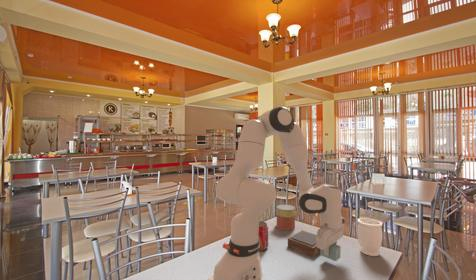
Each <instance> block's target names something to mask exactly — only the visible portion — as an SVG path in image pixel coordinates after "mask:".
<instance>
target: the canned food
mask: <svg viewBox="0 0 476 280" xmlns="http://www.w3.org/2000/svg"><path fill="white" fill-rule="evenodd" d="M276 228H278V229H280V230H283V231H292V230H295V228H296V207H295V206H293V205H291V204H278V205H277V206H276Z"/></svg>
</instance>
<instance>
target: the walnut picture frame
mask: <svg viewBox="0 0 476 280" xmlns="http://www.w3.org/2000/svg"><path fill="white" fill-rule="evenodd" d="M316 236H317V234H314V233H311V232H308V231H305V230H303V229H302V230H300V231H298V232H296V233H294V234H293V235H291V236H290V237H288V238H287V247H289V248H292V249H294V250H296V251H299V252H301V253H304V254H306V255H308V256H309V255H310V256H312V257H315V256H317V254H319V253H320V249H319V248H317V246H316Z"/></svg>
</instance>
